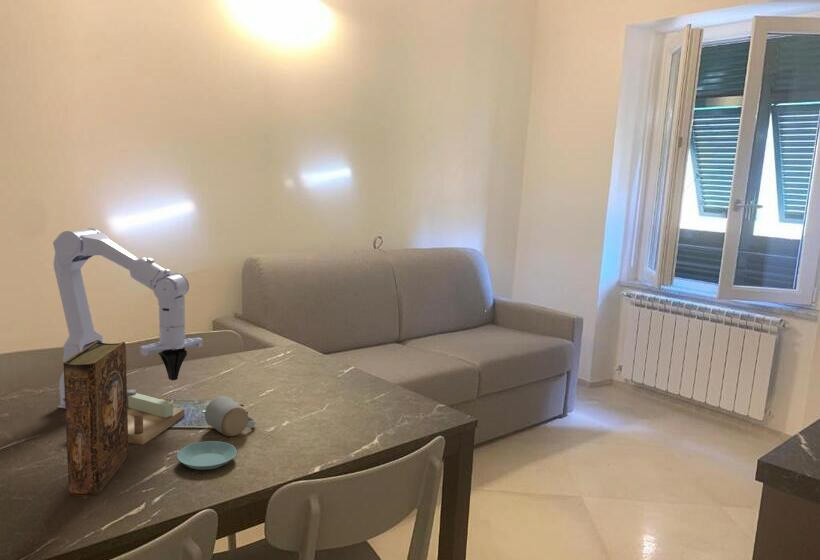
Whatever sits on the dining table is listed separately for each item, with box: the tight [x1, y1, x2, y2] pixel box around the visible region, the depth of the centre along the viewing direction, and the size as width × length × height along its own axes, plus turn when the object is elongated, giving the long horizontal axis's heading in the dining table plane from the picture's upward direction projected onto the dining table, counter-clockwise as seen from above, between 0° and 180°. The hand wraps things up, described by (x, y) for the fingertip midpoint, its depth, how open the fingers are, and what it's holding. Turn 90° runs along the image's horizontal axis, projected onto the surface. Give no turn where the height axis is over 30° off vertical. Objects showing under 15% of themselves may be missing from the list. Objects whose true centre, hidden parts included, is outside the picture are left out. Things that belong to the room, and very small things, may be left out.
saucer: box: [176, 440, 238, 471], centre depth 131 cm, size 12×12×2 cm
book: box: [62, 341, 129, 497], centre depth 121 cm, size 16×6×25 cm, turn 5°
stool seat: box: [127, 406, 185, 445], centre depth 147 cm, size 17×17×6 cm
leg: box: [127, 389, 174, 418], centre depth 151 cm, size 14×3×4 cm, turn 65°
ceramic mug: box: [204, 395, 256, 437], centre depth 147 cm, size 11×8×8 cm
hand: (172, 379), depth 153 cm, fingers closed
